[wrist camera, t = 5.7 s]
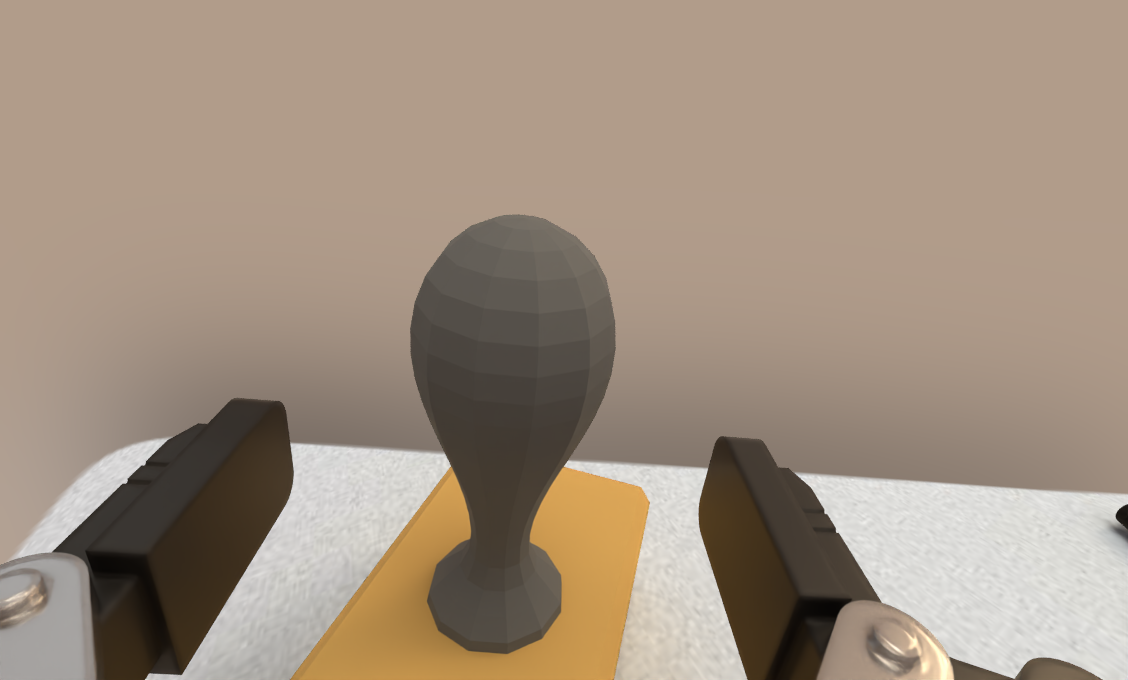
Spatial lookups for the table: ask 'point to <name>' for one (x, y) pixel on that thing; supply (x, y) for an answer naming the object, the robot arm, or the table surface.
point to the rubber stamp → (503, 480)
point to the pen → (1123, 516)
